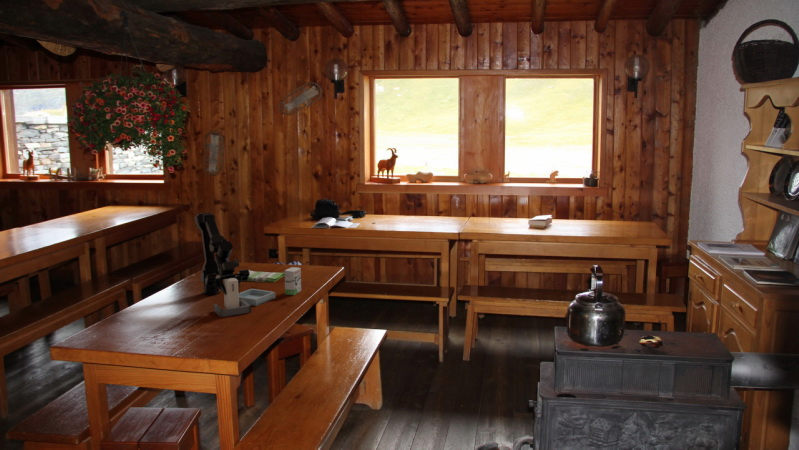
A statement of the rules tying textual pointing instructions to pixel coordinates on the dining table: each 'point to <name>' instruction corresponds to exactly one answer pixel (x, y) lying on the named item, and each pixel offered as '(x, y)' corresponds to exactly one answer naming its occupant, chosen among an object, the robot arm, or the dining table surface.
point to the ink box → (292, 281)
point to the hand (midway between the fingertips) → (232, 293)
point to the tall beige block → (231, 293)
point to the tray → (256, 296)
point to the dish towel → (264, 276)
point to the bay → (233, 310)
